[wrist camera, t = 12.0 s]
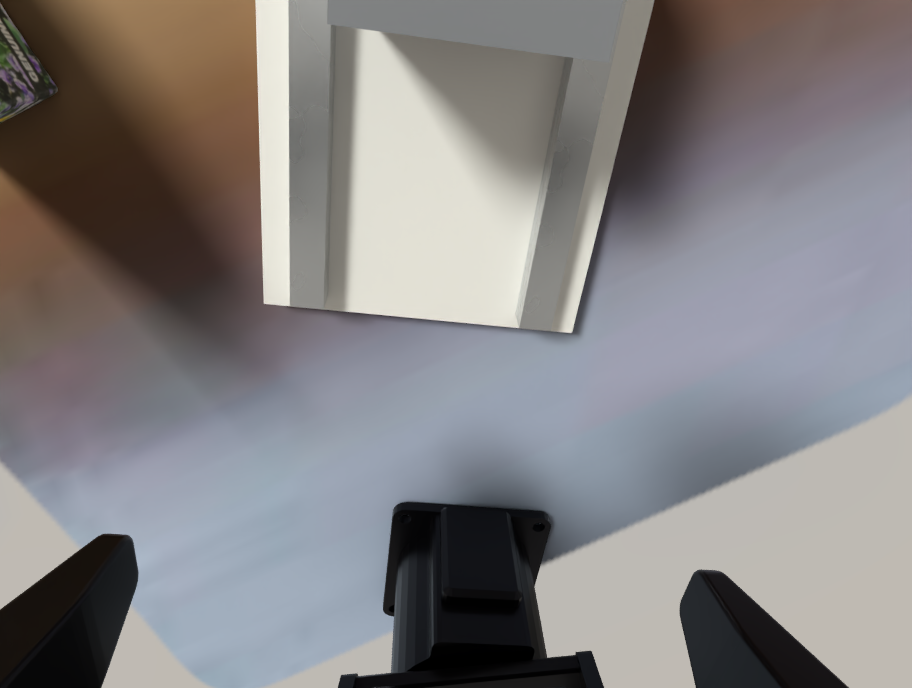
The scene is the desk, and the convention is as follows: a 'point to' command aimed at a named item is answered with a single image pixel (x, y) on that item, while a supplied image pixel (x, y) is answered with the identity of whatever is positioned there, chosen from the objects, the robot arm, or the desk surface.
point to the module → (493, 23)
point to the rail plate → (433, 169)
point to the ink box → (19, 72)
